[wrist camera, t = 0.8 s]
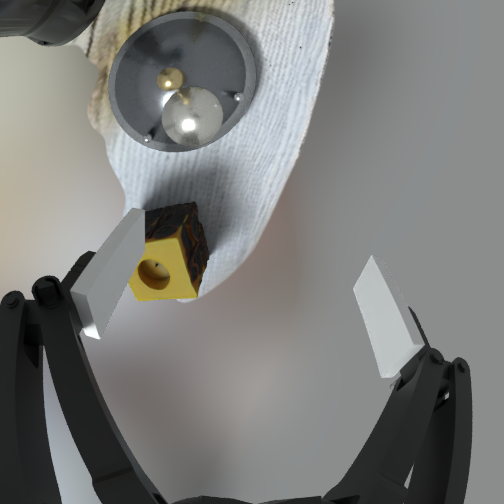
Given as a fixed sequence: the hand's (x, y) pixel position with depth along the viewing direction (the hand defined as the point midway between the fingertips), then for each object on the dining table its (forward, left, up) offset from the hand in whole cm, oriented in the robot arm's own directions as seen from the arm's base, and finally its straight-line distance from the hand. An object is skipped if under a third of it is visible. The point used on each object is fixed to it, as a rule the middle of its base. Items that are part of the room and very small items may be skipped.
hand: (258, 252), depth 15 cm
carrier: (-14, -6, -24) cm, 28 cm away
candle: (+7, -17, -24) cm, 30 cm away
